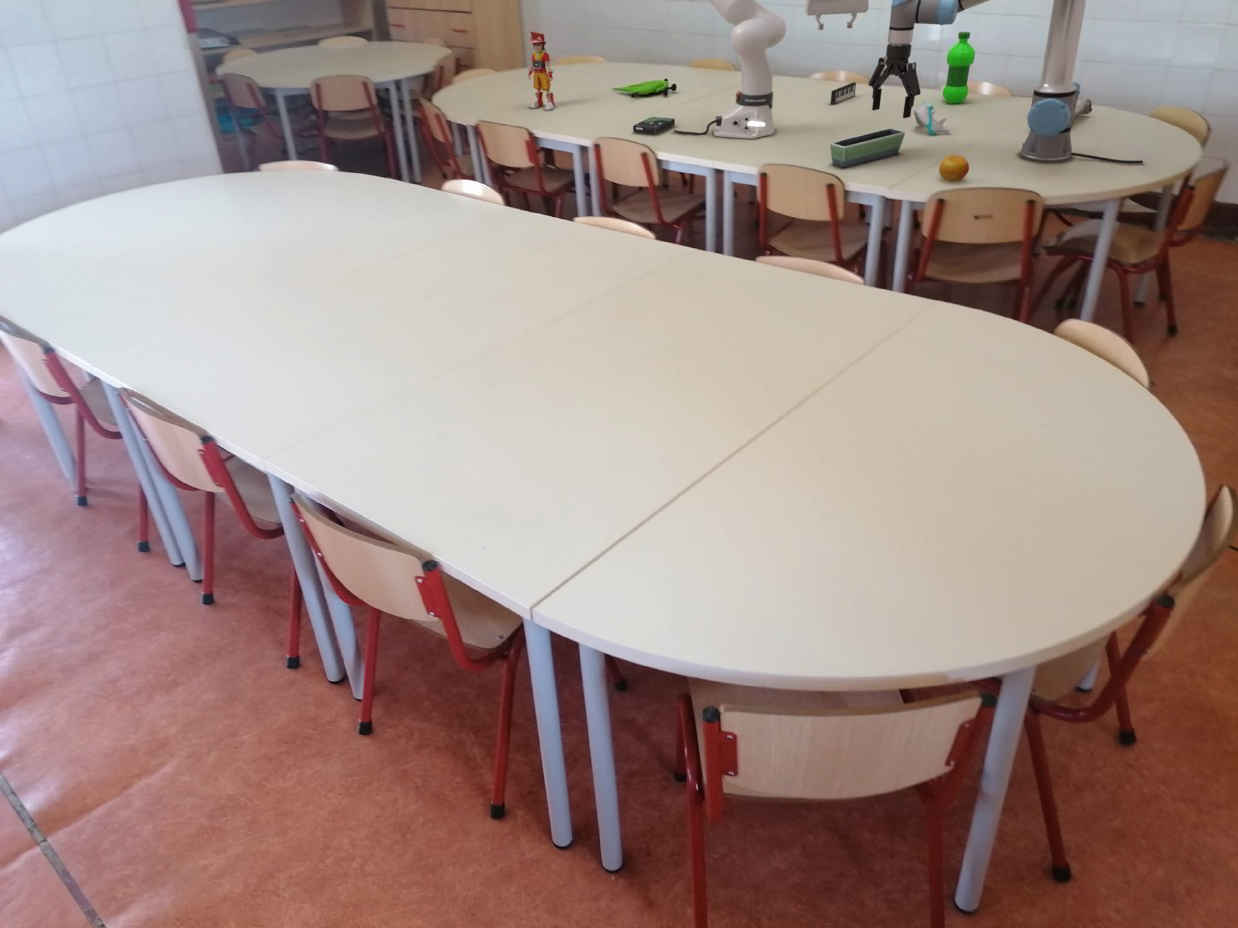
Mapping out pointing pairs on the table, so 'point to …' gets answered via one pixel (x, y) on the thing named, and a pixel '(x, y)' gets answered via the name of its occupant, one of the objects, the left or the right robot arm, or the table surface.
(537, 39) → the toy
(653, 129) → the disk drive
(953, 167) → the fruit
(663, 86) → the toy
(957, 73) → the plastic bottle
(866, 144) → the planter
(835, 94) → the midi keyboard
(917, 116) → the anatomical model
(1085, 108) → the rolled mat
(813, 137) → the table surface
